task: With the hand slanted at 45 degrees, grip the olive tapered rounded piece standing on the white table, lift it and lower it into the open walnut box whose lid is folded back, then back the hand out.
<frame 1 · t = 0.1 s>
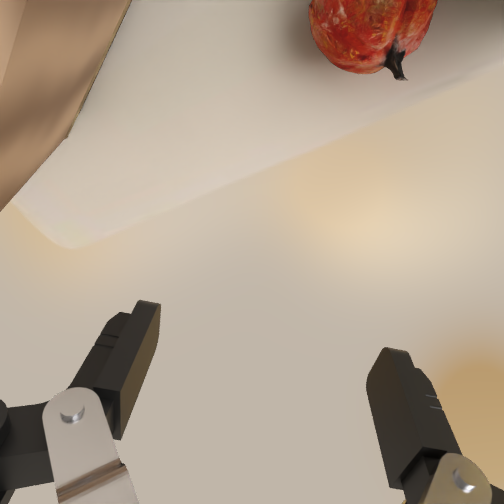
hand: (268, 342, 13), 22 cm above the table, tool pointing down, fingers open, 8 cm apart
box lid: (52, 88, 19), point 11 cm above the table, hinge at 95.3°, touching walnut box
pomegranate: (361, 0, 25), on the table
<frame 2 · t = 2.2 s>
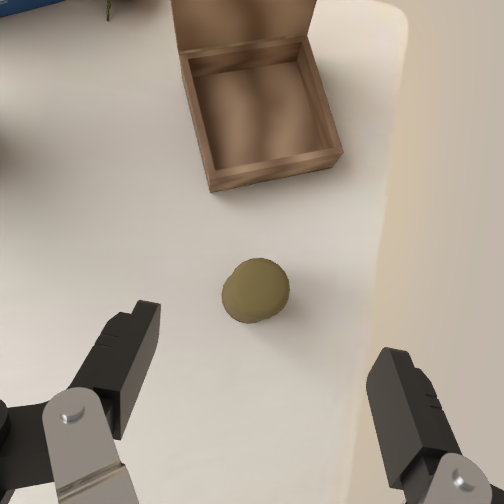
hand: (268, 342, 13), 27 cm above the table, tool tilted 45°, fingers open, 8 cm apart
olive tapered rounded piece: (248, 295, 40), on the table
walnut box: (256, 122, 44), on the table
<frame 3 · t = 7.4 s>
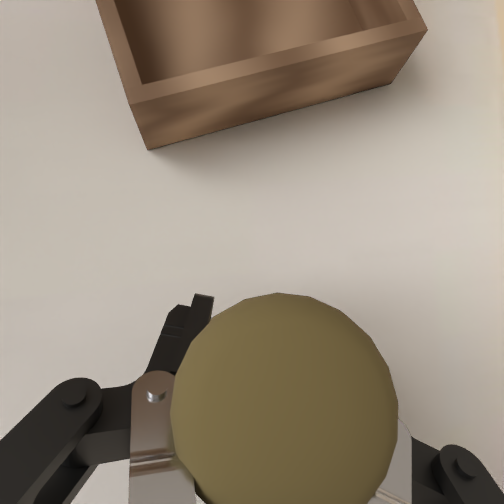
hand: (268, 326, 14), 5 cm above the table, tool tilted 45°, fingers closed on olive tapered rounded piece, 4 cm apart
olive tapered rounded piece: (250, 366, 18), on the table, touching gripper
walnut box: (233, 9, 22), on the table
when the fingers open (7 cm above the table, at t = 12.3 s): olive tapered rounded piece drops 1 cm, resting on walnut box.
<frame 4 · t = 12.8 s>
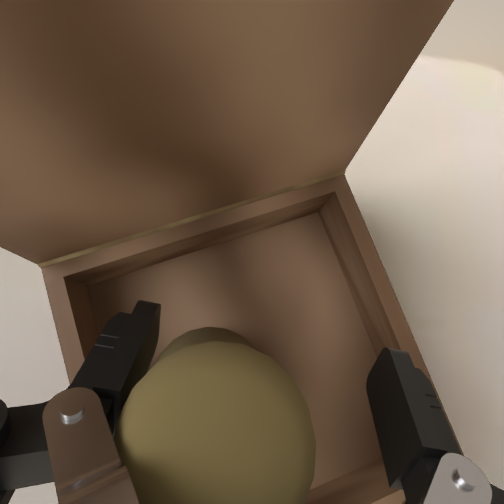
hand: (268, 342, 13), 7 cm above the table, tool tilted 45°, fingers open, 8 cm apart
olive tapered rounded piece: (209, 386, 19), point 1 cm above the table, touching gripper, walnut box
walnut box: (247, 363, 20), on the table
box lid: (180, 111, 10), point 11 cm above the table, hinge at 93.5°, touching walnut box
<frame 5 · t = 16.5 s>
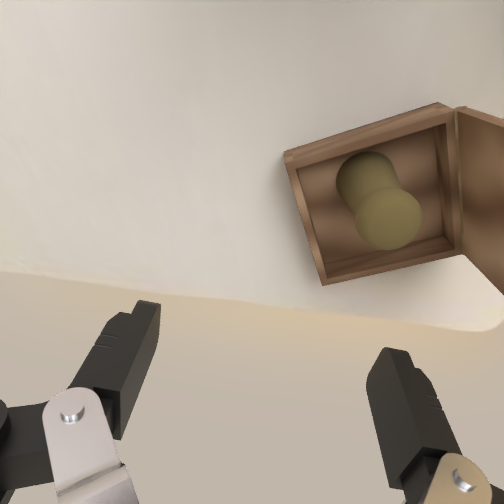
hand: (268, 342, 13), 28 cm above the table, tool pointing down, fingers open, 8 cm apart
olive tapered rounded piece: (364, 179, 38), point 1 cm above the table, touching walnut box
walnut box: (370, 195, 39), on the table
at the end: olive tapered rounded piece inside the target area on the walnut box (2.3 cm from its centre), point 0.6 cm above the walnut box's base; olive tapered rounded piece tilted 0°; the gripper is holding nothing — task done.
